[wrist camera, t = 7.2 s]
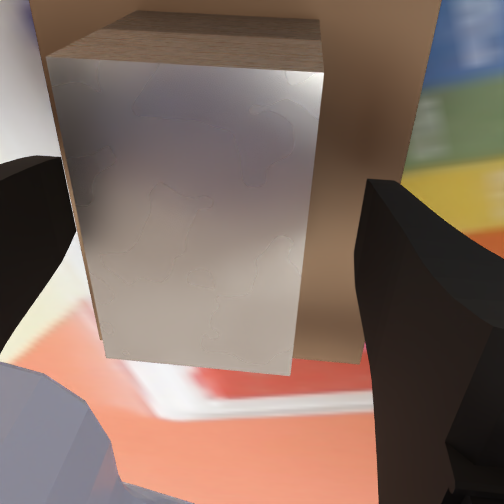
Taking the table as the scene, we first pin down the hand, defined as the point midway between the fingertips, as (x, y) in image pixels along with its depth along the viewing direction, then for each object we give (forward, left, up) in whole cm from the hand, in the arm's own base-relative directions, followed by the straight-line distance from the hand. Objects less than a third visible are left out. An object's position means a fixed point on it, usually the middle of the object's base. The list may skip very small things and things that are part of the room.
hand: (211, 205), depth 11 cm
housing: (0, 0, -3) cm, 3 cm away
